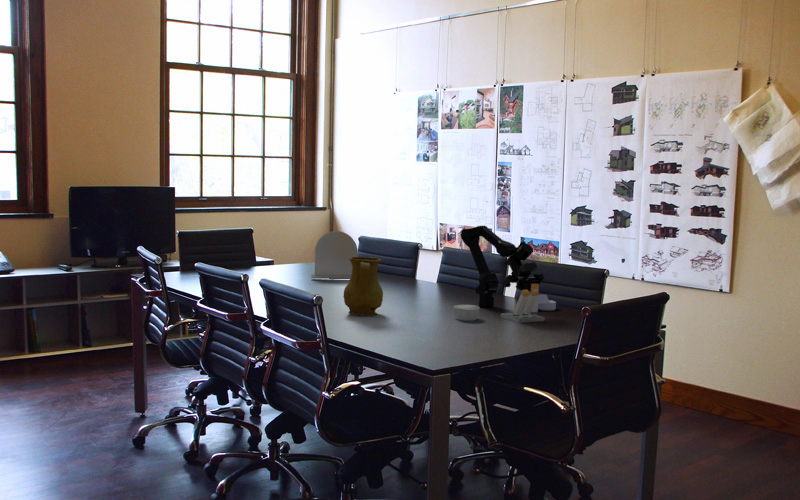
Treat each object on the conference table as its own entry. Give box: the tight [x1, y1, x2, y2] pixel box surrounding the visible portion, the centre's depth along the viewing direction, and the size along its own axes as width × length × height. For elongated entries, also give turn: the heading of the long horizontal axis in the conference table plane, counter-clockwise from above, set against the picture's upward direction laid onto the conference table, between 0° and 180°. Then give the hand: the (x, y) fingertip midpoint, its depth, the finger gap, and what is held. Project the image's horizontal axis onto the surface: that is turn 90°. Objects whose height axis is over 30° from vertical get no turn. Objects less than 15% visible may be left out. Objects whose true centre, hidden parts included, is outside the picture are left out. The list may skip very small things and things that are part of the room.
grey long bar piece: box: [522, 289, 540, 315], centre depth 319 cm, size 2×3×13 cm
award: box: [310, 230, 359, 279], centre depth 428 cm, size 28×9×28 cm, turn 97°
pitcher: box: [343, 256, 384, 317], centre depth 326 cm, size 17×19×25 cm
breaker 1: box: [513, 290, 530, 316], centre depth 317 cm, size 2×3×13 cm
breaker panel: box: [500, 311, 546, 324], centre depth 325 cm, size 14×13×2 cm
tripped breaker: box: [530, 283, 540, 315], centre depth 324 cm, size 2×3×13 cm
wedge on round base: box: [526, 294, 557, 311], centre depth 350 cm, size 9×7×13 cm
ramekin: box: [453, 304, 481, 322], centre depth 322 cm, size 11×11×5 cm
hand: (530, 295), depth 326 cm, fingers closed
